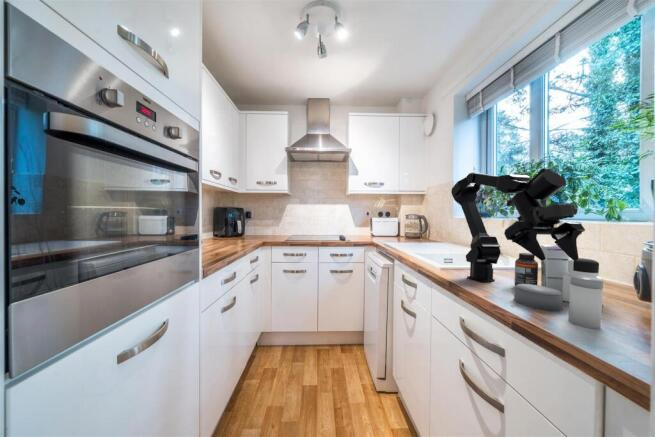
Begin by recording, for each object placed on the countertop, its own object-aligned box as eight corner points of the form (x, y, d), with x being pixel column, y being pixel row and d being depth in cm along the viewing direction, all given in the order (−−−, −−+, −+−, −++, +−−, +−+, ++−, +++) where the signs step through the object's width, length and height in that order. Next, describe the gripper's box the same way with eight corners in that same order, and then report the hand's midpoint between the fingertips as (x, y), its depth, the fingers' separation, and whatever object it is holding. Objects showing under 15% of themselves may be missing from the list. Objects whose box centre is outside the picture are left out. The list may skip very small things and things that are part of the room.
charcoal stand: (505, 299, 71) (506, 285, 71) (528, 295, 75) (529, 282, 75) (547, 312, 62) (548, 296, 62) (571, 308, 65) (572, 292, 65)
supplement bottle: (526, 285, 86) (528, 252, 86) (542, 291, 80) (544, 255, 80) (509, 285, 86) (511, 252, 85) (524, 290, 80) (525, 255, 79)
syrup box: (570, 296, 74) (571, 247, 74) (544, 293, 77) (545, 245, 77) (564, 291, 79) (564, 245, 79) (539, 289, 82) (540, 244, 82)
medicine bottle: (601, 303, 70) (603, 259, 70) (598, 308, 66) (600, 262, 65) (566, 296, 76) (568, 255, 75) (561, 300, 71) (563, 258, 71)
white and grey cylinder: (563, 320, 58) (565, 276, 57) (576, 317, 59) (578, 275, 59) (592, 330, 53) (595, 282, 53) (605, 326, 55) (608, 280, 55)
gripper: (520, 190, 65) (553, 244, 56) (585, 193, 67) (626, 245, 58) (493, 215, 74) (517, 264, 66) (551, 216, 76) (581, 265, 68)
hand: (560, 260), depth 64 cm, fingers open, 9 cm apart
